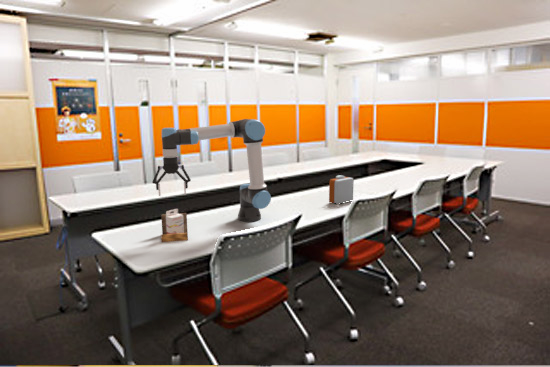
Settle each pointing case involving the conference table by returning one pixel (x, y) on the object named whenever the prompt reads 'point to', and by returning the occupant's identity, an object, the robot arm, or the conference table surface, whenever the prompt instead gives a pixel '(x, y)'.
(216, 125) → the robot arm
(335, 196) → the grey and orange case
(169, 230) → the ink cartridge box
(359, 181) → the conference table surface
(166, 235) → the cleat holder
